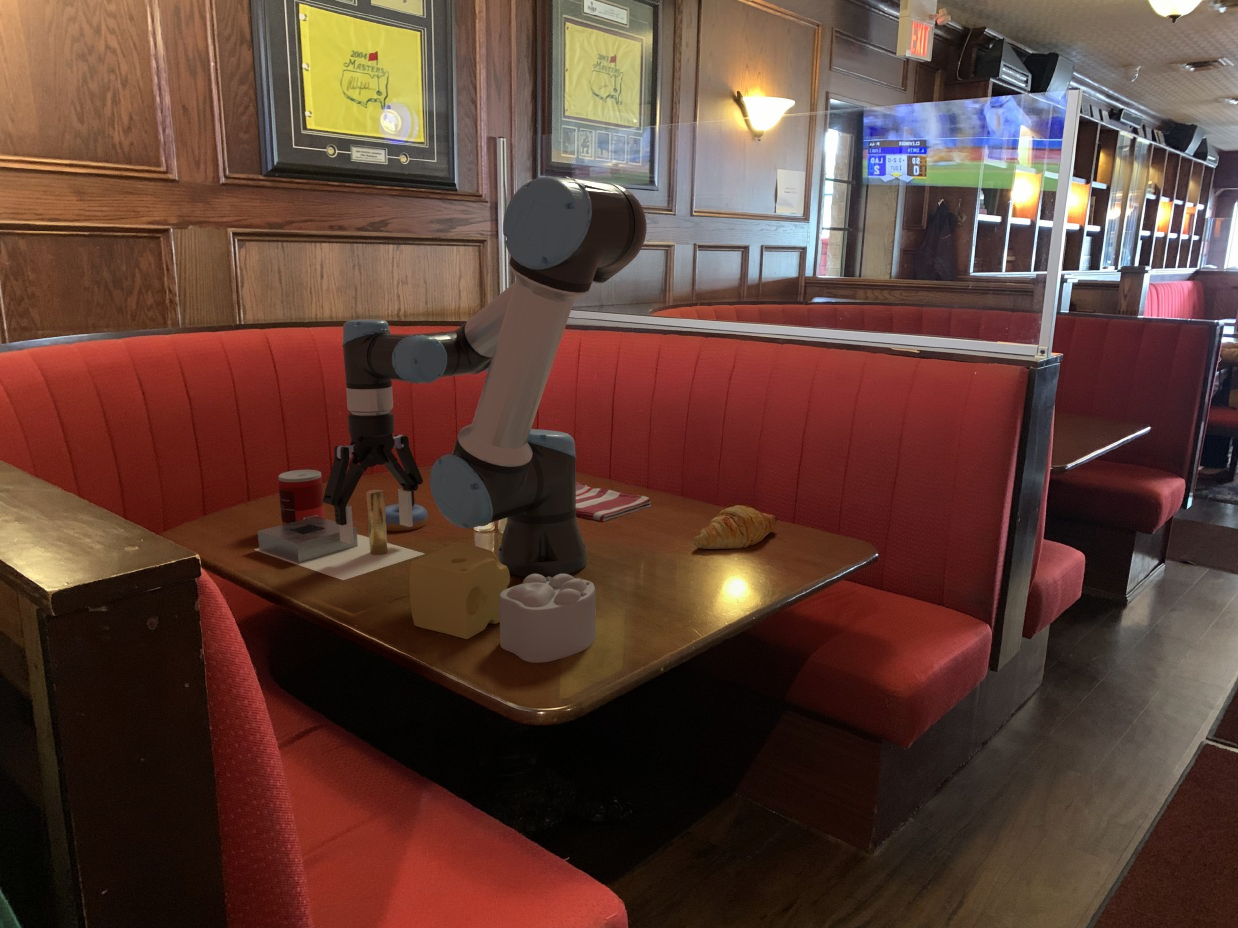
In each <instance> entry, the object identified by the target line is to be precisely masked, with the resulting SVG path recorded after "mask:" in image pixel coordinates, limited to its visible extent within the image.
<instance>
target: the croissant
mask: <svg viewBox="0 0 1238 928" xmlns="http://www.w3.org/2000/svg"><path fill="white" fill-rule="evenodd" d="M777 521H778V517H777V516H776V515H773V514H771V513H770V514H768V513H765V512H761V511H760V510H756V509H755V508H754V507H753V506H750V505H743V504H742V505H739V504H737V505H736V504H735V505H734V506H733V505H732V506H729V507H725V508H723V509H721V510H720V511H719V512H718V513H717V514H716V516H715V517H713V518H712V519H710V521H709V523H708V526H705V527H703V528H702V529H701V530H700V532H699V534H698V535H696V536H694V538H693V541H692V543H693V545H694V547H696V548H699V549H701V550H702V549H703V550H704V549H705V550H706V549H707V550H725V549H726V550H727V549H728V550H730V549H742V548H748V547H749V546H753V545H756V544H758V543H760V542H762V540H764V539H765V537H767V535H769V534H770V533H771V532H772V531H774V530H775V527H776V524H777Z"/></svg>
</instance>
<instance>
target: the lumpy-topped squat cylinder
mask: <svg viewBox="0 0 1238 928" xmlns="http://www.w3.org/2000/svg"><path fill="white" fill-rule="evenodd" d="M596 607H597V606H596V587H595V585H594V583H593V582H592V581H590V580H586V579H583V578H581V577H577V578H576V577H574V576H573V575H570V574H558V575H556V576H554V577H544V576H542V575H540V574H531V575H529V576H527V577H525V578H524V579H523V581H522V583H520V584H517V585H514V586H511V587H507V589H505V590H503V591H502V592H501V594H500V596H499V612H500V622H499V639H500V640H499V641H500V643H499V644H500V647H501V648H502V649H503V650H505V651H508V652H510V653H513V654H515V655H516V656H517V657H518V658H519V659H521V660H523V661H525V662H528V663H535V664H537V663H538V664H539V663H549V662H553V661H556V660H560V659H564V658H567V657H569V656H572V655H575V654H579V653H580V652H583V651H584V650H587V649H589V647H591V646H592V644H593V643H594V642H595V640H596V634H597V631H596V627H597V626H596V625H597V624H596V619H597V618H596V617H597V616H596V613H597V612H596V611H597V610H596Z"/></svg>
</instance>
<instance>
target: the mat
mask: <svg viewBox="0 0 1238 928" xmlns="http://www.w3.org/2000/svg"><path fill="white" fill-rule="evenodd" d="M357 543H358V546H356V547H353V548H350V549H346V550H343V551H339V552H336V553H332V554H329V555H326V556H322V557H319V558H315V559H312V560H308V561H305V562H301V563H296V562H293V561H290V560H288V559H285V558H282V557H279V556H276V555H273V554H270V553H267V552H264V551H261V550H259V547H258V548H254V549H253V550H254V551H256V552H259V553H262V554H265V555H267V556H271V557H274V558H277V559H279V560H282V561H286V562H287V563H288V562H289V563H292V564H294V565H297V566H300V567H303V568H305V569H308V570H312V571H313V572H314V571H315V572H317V573H321V574H323V575H327V576H329V577H333V578H335V579H337V580H341V581H345V580H349V579H352V578H355V577H359V576H360V575H364V574H368V573H370V572H373V571H377V570H380V569H382V568H386V567H389V566H390V567H391V566H392V565H395V564H398V563H402V562H404V561H408V560H412V559H414V558H417V557H421V556H423V555H424V556H425V553H424V552H421V551H420V552H419V551H417V550H414V549H410V548H406V547H403V546H399V545H397V544H392V543H390V542H387V548H388V552H387V553H386V554H383V555H372V554H370V544H369V536H365V535H362V534H358V533H357Z"/></svg>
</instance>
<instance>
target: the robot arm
mask: <svg viewBox="0 0 1238 928" xmlns="http://www.w3.org/2000/svg"><path fill="white" fill-rule="evenodd" d="M502 234H503V236H505V237H506V240H505V241H504V244H505V247H506V249H507V252H508V254H509V256H510V259H509V262H508V267H509V269H510V270H511V272H512V273H513V275H514V278H515V281H514V282H513V283H512V284H511V285H509V286H508V287H507V288H506V289H504V290H503V291H502V292H501V293H499V295H497V296H496V297H495V298H493V299H492V300H491V301H490V302H489V303H487V304H486V305H485V306H484V307H483V308H481V309H479V311H478V312H477V313H475V314H474V315H473V316H472V317H470V319H468V320H467V321H466V322H465V323H463V324H462V325H460V327H458V328H457V329H455V330H449V331H447V330H446V331H437V332H424V333H423V332H421V333H412V334H411V333H410V334H409V333H406V334H402V333H391V331H390V325H389V323H388V321H386V320H384V319H379V318H378V319H377V318H375V319H372V318H371V319H370V318H369V319H367V318H366V319H348V320H346V321H345V322H344V324H343V327H342V340H343V341H342V345H341V346H342V348H343V349H342V350H343V352H342V353H343V362H344V363H343V364H344V375H345V376H344V377H345V386H346V387H345V388H346V389H345V390H346V405H347V408H346V409H347V410H348V411H349V413H348V414H347V423H348V425H347V426H348V434H349V436H350V443H349V445H337V444H336V445H335V446H334V449H333V453H334V454H333V455H334V459H333V463H332V467H331V470H330V474H329V477H328V480H327V484H326V488H325V490H324V493H323V504H327V505H330V506H333V507H334V518H335V522H336V524H338V525H339V529H340V541H341V542H345V543H348V544H352V543H354V538H353V527H354V526H353V525H354V524H353V523H354V522H353V510H352V509H353V507H352V505H349V504H348V503H349V501H350V499H351V497H352V495H353V493H354V491H355V490H356V488H357V485H359V484H358V483H359V482H360V480H361V478H362V476H363V474H364V473H365V472H366V471H367V470H368V468H374V467H375V466H377V465H379V466H382V465H384V466H385V467H386V469H387V470H388V471H389V473H390V474H391V475H392V477H393V478H394V479H395V480H396V481H397V482H398V484H399V485H400V487H401V488H400V489H399V488H398V489H397V493H398V494H397V495H398V496H397V497H398V504H399V518H400V525H404V526H407V527H412V526H413V518H412V507H413V506H414V504H415V491H418V490H419V485H420V486H421V485H422V484H423V483H424V479H423V477H422V475H421V473H420V470H419V467H418V465H417V463H416V460H415V458H414V455H413V453H412V451H411V448H410V439H409V437H408V435H404V434H398V433H396V434H395V435H393V434H394V433H395V418H394V417H395V416H394V413H393V411H391V410H393V408H394V395H393V381H400V382H407V383H411V384H415V385H417V384H430V383H434V382H436V381H438V379H439V378H441V379H442V378H447V377H454V376H462V375H478V374H480V373H482V372H483V373H484V372H487V374H486V377H485V380H484V384H483V387H482V390H481V394H480V397H479V399H478V402H477V407H476V409H475V413H474V417H473V419H472V422H471V424H467V425H465V426H464V427H462V428H461V429H460V430H459V431H458V434H457V437H456V441H455V442H454V443H455V444H454V446H453V450H452V452H451V453H447V454H444V455H442V456H441V457H440V458H437V460H435V462H434V463H433V465H432V466H431V469H430V474H429V487H430V492H431V495H432V498H433V500H434V502H435V505H436V507H437V508H438V510H439V512H440V514H442V516H443V517H444V518H445V519H446V520H447V521H448V522H449V523H451V524H452V525H454V526H456V527H459V528H461V529H472V528H473V529H474V528H477V527H485V526H486V527H487V526H488V525H489V524H492V523H495V522H498V521H500V520H504V519H506V523H505V527H504V530H503V534H502V537H501V542H500V545H499V547H498V550H497V558H498V559H499V561H500V562H501V563H502V564H503V565H505V566H507V568H508V570H509V574H510V575H514V576H518V577H523V578H524V577H525V578H526V577H527V576H529V575H531V574H540V575H542V576H544V577H545V578H546V577H551V578H553V577H554V576H556V575H558V574H568V575H570V574H573V573H575V572H578V571H579V570H582V569H583V568H585V567H586V565H587V562H588V561H587V560H588V559H587V556H588V555H587V548H586V546H585V544H584V542H583V538H582V534H581V532H580V528H579V525H578V520H577V516H576V481H577V479H576V478H577V473H576V472H577V466H576V464H577V461H576V460H577V459H578V458H577V455H576V442H575V439H574V437H572V435H570V434H569V433H566V432H563V431H557V430H547V429H534V428H532V426H533V424H534V421H535V418H536V415H537V412H538V409H539V406H540V404H541V400H542V397H543V394H544V391H545V388H546V386H547V384H548V380H549V377H550V374H551V371H552V368H553V364H554V361H555V359H556V355H557V354H558V351H559V346H560V344H561V341H562V338H563V335H564V332H565V329H566V326H567V324H568V321H569V318H570V314H571V312H572V308H573V305H574V303H575V300H576V299H577V298H579V297H582V296H585V295H587V294H588V293H589V291H590V289H591V287H592V284H593V283H595V284H599V285H600V284H604V283H606V282H608V280H610V279H612V278H613V277H614V276H615V275H617V274H618V273H619V272H621V271H622V270H623V269H624V268H625V267H627V266H628V265H629V264H630V263H631V262H632V261H634V259H636V257H637V256H638V255H639V253H640V252H641V250H642V248H643V246H644V243H645V240H646V235H647V218H646V214H645V211H644V209H643V206H642V204H641V202H640V201H639V200H638V199H637V197H636V196H635V195H634V194H633V193H632V192H630V191H629V189H627V188H625V187H624V186H622V185H618V184H616V183H611V182H601V181H600V182H599V181H598V182H597V181H591V180H586V179H579V178H572V177H568V176H565V175H564V176H562V175H561V176H560V175H558V176H543V177H537V178H533V179H532V180H530V181H529V182H526V183H524V185H522V186H521V187H520V188H518V190H516V191H515V193H514V194H513V195H512V197H511V199H510V200H509V203H508V204H507V207H506V209H505V212H504V216H503V223H502ZM392 380H393V381H392ZM394 448H395V451H396V453H397V456H398V458H399V461H400V463H401V464H400V463H399V461H398V458H397V457H396V456H395V454H394V453H393V452H392V451H393V449H394ZM348 467H349V468H348Z"/></svg>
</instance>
